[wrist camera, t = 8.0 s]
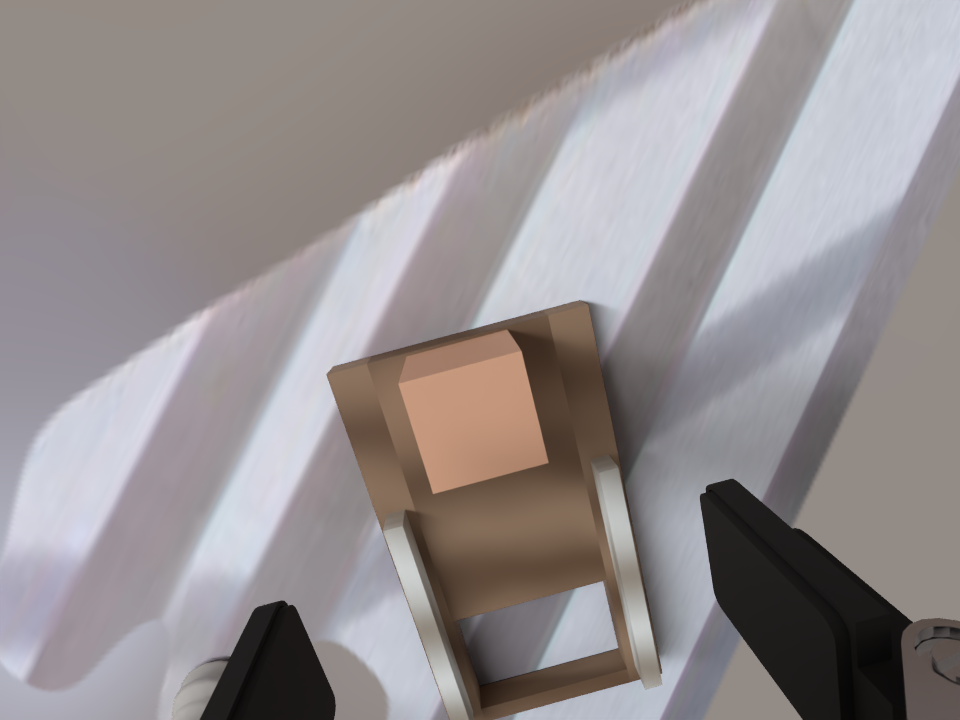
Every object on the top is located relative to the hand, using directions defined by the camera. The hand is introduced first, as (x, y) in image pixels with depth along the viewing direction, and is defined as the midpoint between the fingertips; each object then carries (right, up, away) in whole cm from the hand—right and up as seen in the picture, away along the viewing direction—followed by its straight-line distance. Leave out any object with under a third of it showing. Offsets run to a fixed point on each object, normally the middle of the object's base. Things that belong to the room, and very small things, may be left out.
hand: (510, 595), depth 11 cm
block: (-1, +4, +13) cm, 14 cm away
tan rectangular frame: (+1, -4, +17) cm, 18 cm away
